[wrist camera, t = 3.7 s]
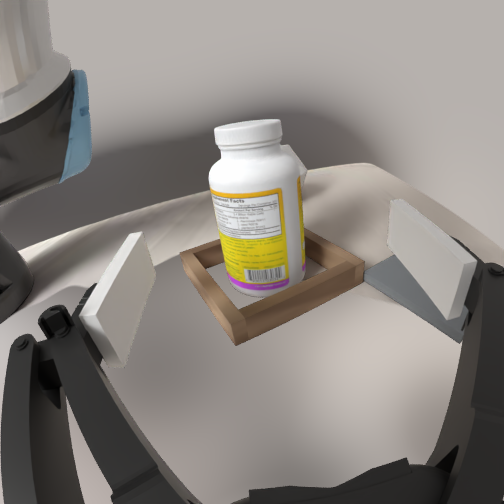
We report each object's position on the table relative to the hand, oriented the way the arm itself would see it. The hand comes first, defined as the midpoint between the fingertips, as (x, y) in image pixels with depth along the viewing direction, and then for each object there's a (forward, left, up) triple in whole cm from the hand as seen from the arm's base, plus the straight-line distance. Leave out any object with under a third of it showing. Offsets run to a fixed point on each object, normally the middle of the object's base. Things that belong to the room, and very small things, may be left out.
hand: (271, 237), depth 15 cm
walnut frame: (-7, +3, -8) cm, 11 cm away
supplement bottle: (-7, +3, -8) cm, 11 cm away
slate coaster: (+3, +14, -8) cm, 16 cm away
